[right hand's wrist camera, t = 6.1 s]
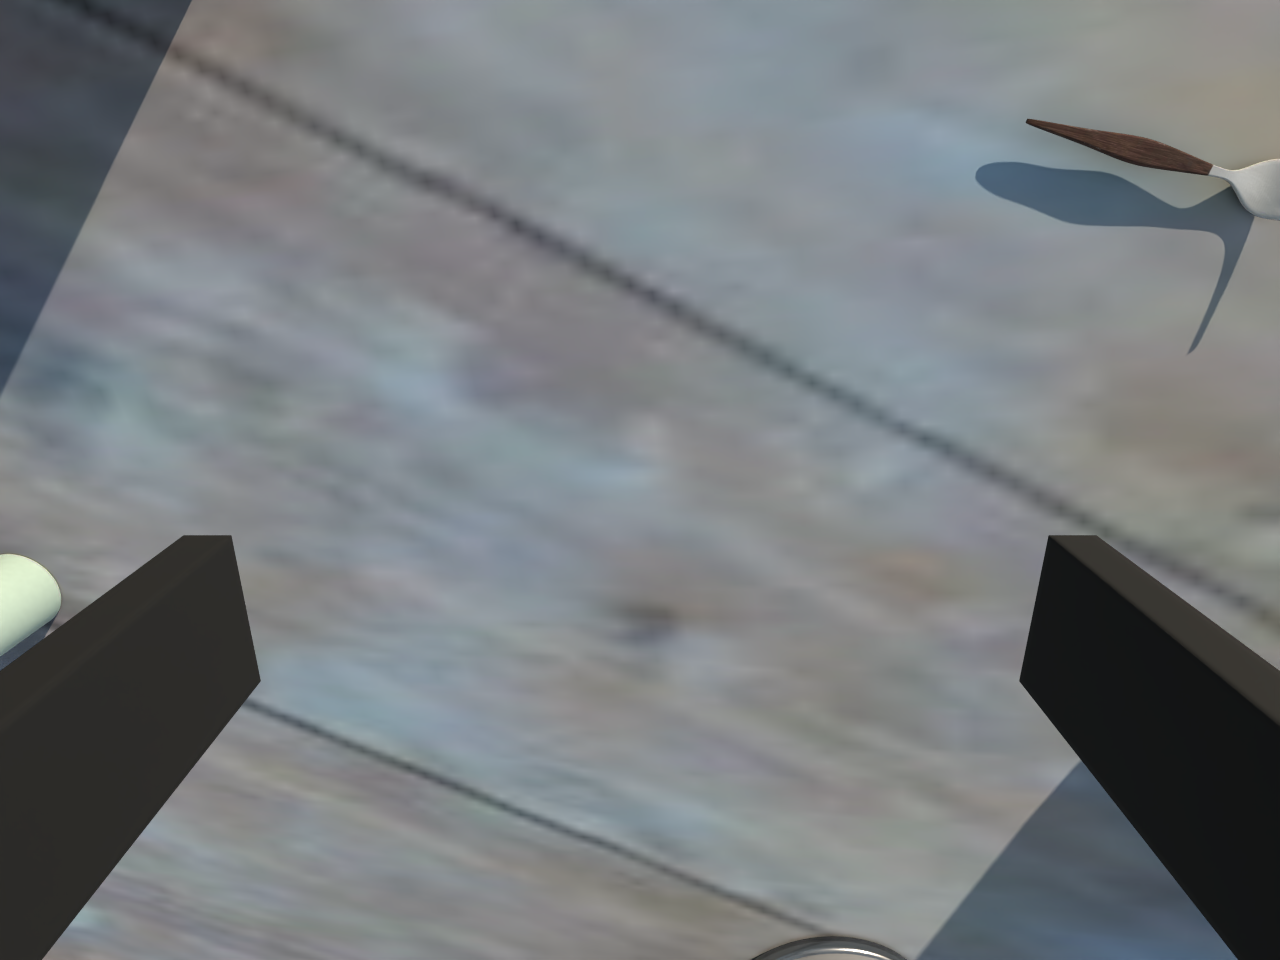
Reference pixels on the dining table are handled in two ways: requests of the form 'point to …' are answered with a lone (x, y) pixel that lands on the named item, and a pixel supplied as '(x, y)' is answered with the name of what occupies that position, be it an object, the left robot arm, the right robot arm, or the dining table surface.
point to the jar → (24, 599)
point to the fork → (1182, 164)
